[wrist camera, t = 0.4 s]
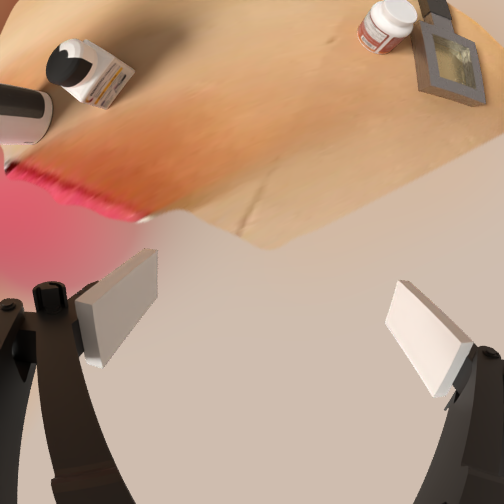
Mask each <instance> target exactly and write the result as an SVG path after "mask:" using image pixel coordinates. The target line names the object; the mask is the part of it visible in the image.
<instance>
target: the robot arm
mask: <svg viewBox="0 0 504 504" xmlns="http://www.w3.org/2000/svg"><path fill="white" fill-rule="evenodd" d="M157 265H158V250H153V249H145V248H144V249H143V250H142V251H140V252H139V253H138V254H136V255H135V256H133V257H132V258H131V259H129V260H128V261H126V262H125V263H123V264H122V265H121V266H120V267H118V268H117V269H115V270H114V271H113V272H111V273H110V274H108V275H107V276H106V277H105V278H103V279H102V280H100V281H96V282H93V283H90V284H88V285H87V286H85V287H84V288H83V289H82V290H80V291H79V292H77V294H75V295H73V296H72V297H71V298H69V299H68V300H67V295H66V287H65V285H64V284H62V283H60V282H55V281H51V282H44V283H41V284H38V285H37V286H35V287H34V288H33V297H34V302H35V307H36V313H35V312H24V308H23V303H22V302H21V301H20V300H18V299H10V298H7V299H4V300H2V301H1V302H0V504H17V486H18V467H19V456H20V446H21V439H22V438H21V437H22V431H23V425H24V419H25V413H26V407H27V403H28V398H29V394H30V389H31V385H32V381H33V377H34V373H35V369H36V365H37V373H38V386H39V395H40V403H41V411H42V417H43V423H44V429H45V434H46V439H47V444H48V449H49V453H50V457H51V461H52V465H53V469H54V473H55V478H53V479H51V486H52V490H53V494H54V497H55V500H56V504H136V503H135V501H134V500H133V498H132V496H131V494H130V492H129V490H128V488H127V486H126V485H125V483H124V481H123V479H122V477H121V475H120V473H119V470H118V468H117V466H116V464H115V462H114V460H113V457H112V455H111V453H110V451H109V448H108V446H107V443H106V441H105V438H104V436H103V433H102V431H101V428H100V426H99V423H98V420H97V417H96V415H95V411H94V408H93V406H92V402H91V399H90V396H89V393H88V390H87V386H86V383H85V380H84V376H83V373H82V369H81V365H80V361H79V356H80V355H81V354H82V353H83V352H84V354H85V359H86V363H87V364H90V365H93V366H96V367H99V368H104V367H105V365H106V364H107V363H108V361H109V360H110V359H111V357H112V356H113V355H114V353H115V352H116V351H117V349H118V348H119V347H120V345H121V344H122V343H123V341H124V340H125V339H126V337H127V336H128V335H129V333H130V332H131V331H132V329H133V328H134V327H135V325H136V324H137V323H138V322H139V320H140V319H141V318H142V316H143V315H144V314H145V313H146V311H147V310H148V309H149V307H150V306H151V305H152V304H153V302H154V301H155V300H156V299H157V296H158V292H157V267H158V266H157ZM385 324H386V326H387V327H388V329H389V330H390V332H391V333H392V335H393V336H394V338H395V339H396V341H397V342H398V344H399V345H400V346H401V348H402V350H403V351H404V353H405V354H406V356H407V357H408V359H409V360H410V362H411V363H412V365H413V366H414V368H415V369H416V371H417V373H418V374H419V376H420V377H421V379H422V381H423V382H424V384H425V385H426V387H427V389H428V390H429V392H430V394H431V395H432V397H433V398H435V397H442V396H446V395H447V393H448V391H449V389H450V388H451V386H452V385H453V386H454V387H455V389H456V391H455V393H454V394H453V396H452V398H451V399H450V401H449V402H448V404H447V406H446V407H445V409H444V410H447V408H449V410H448V414H447V417H446V421H445V424H444V428H443V431H442V434H441V437H440V440H439V443H438V446H437V449H436V452H435V454H434V457H433V460H432V462H431V465H430V467H429V470H428V472H427V475H426V477H425V480H424V482H423V484H422V486H421V488H420V491H419V493H418V495H417V497H416V499H415V501H414V503H413V504H504V360H501V356H500V355H499V353H498V352H497V351H495V350H494V349H493V348H490V347H487V346H480V347H477V346H476V345H475V344H474V342H473V341H472V340H471V339H470V338H469V337H468V336H467V335H466V334H465V333H464V332H463V331H462V330H461V329H460V328H459V327H458V326H457V325H456V324H455V323H454V322H453V321H452V320H451V319H450V318H449V317H448V316H447V315H446V314H445V313H443V312H442V311H441V310H440V309H439V308H438V307H437V306H436V305H435V304H434V303H433V302H432V301H431V300H430V299H428V298H427V297H426V296H425V295H424V294H423V293H422V292H421V291H420V290H419V289H417V288H416V287H415V286H414V285H413V284H412V283H411V282H409V281H404V280H398V282H397V285H396V289H395V292H394V295H393V299H392V302H391V305H390V309H389V312H388V315H387V318H386V321H385Z"/></svg>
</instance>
